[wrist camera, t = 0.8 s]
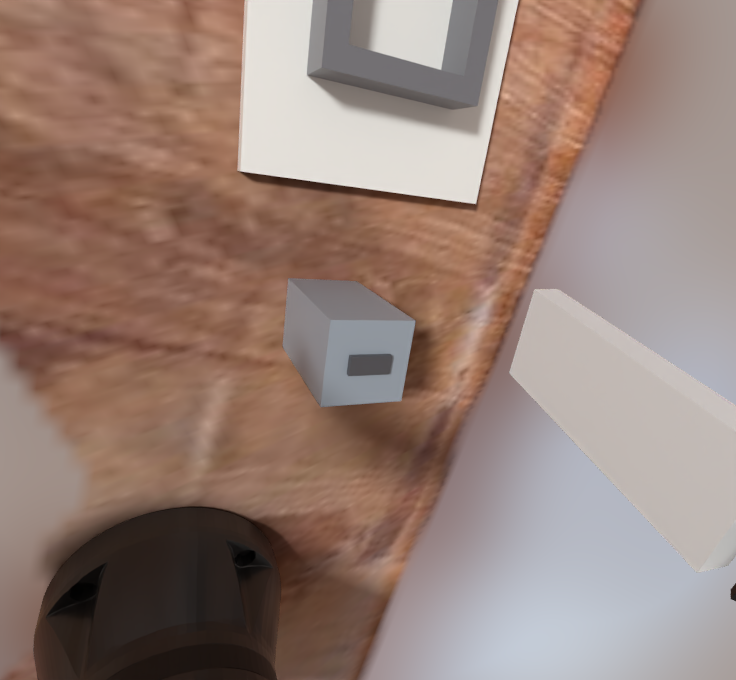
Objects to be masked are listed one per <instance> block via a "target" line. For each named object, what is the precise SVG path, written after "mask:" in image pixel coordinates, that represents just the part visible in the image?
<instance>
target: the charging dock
mask: <svg viewBox="0 0 736 680" xmlns="http://www.w3.org/2000/svg"><path fill="white" fill-rule="evenodd" d="M517 5H518V0H245V4H244V28H243V52H242V76H241V100H240V125H239V149H238V171H241V172H248V173H256V174H263V175H270V176H277V177H285V178H292V179H299V180H306V181H313V182H321V183H328V184H335V185H342V186H350V187H357V188H364V189H371V190H378V191H386V192H393V193H400V194H407V195H414V196H422V197H429V198H436V199H443V200H451V201H458V202H465V203H472V204H476V201H477V196H478V192H479V187H480V182H481V177H482V172H483V168H484V163H485V158H486V153H487V148H488V144H489V139H490V134H491V129H492V124H493V120H494V115H495V110H496V105H497V100H498V96H499V91H500V86H501V81H502V77H503V72H504V67H505V62H506V57H507V53H508V48H509V43H510V38H511V33H512V29H513V24H514V19H515V14H516V9H517Z"/></svg>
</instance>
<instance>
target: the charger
mask: <svg viewBox="0 0 736 680" xmlns="http://www.w3.org/2000/svg"><path fill="white" fill-rule="evenodd" d="M415 322H416V321H415V320H414V319H412V318H411V317H409V316H408V315H406V314H405V313H403V312H402V311H400V310H399V309H397V308H396V307H394V306H393V305H391V304H390V303H388V302H387V301H385V300H384V299H382V298H381V297H379V296H378V295H376V294H375V293H373V292H372V291H370V290H369V289H367V288H366V287H364V286H363V285H361V284H360V283H358V282H357V281H338V280H316V279H294V278H288V289H287V301H286V313H285V325H284V337H283V348H284V350H285V352H286V353H287V355H288V356H289V358H290V359H291V361H292V363H293V364H294V366H295V367H296V369H297V371H298V372H299V374H300V375H301V377H302V379H303V380H304V382H305V383H306V385H307V387H308V388H309V390H310V391H311V393H312V394H313V396H314V398H315V399H316V401H317V402H318V404H319V406H320V407H329V406H342V405H355V404H368V403H381V402H395V401H401V399H402V393H403V388H404V382H405V377H406V371H407V366H408V360H409V355H410V349H411V344H412V338H413V333H414V327H415Z"/></svg>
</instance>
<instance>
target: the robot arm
mask: <svg viewBox="0 0 736 680" xmlns="http://www.w3.org/2000/svg"><path fill="white" fill-rule="evenodd" d="M509 374H510V375H511V376H512V377H513V378H514V379H515V380H516V381H517V382H518V383H519V384H520V385H521V386H522V387H523V389H525V391H526V392H527V393H528V394H529V395H530V396H531V397H532V398H533V399H534V400H535V401H536V402H537V403H538V404H539V406H540V407H541V408H542V409H543V410H544V411H545V412H546V413H547V414H548V415H549V416H550V417H551V418H552V419H553V420H554V421H555V423H557V425H559V427H560V428H561V429H562V430H563V431H564V432H565V433H566V434H567V435H568V436H569V437H570V438H571V439H572V441H573V442H574V443H575V444H576V445H577V446H578V447H579V448H580V449H581V450H582V451H583V452H584V453H585V454H586V455H587V456H588V458H590V459H591V461H592V462H593V463H594V464H595V465H596V466H597V467H598V468H599V469H600V470H601V471H602V472H603V473H604V475H606V477H607V478H608V479H609V480H610V481H611V482H612V483H613V484H614V485H615V486H616V487H617V488H618V489H619V490H620V491H621V492H622V494H623V495H624V496H625V497H626V498H627V499H628V500H629V501H630V502H631V503H632V504H633V505H634V506H635V507H636V508H637V509H638V511H639V512H640V513H641V514H642V515H643V516H644V517H645V518H646V519H647V520H648V521H649V522H650V523H651V524H652V526H654V528H655V529H656V530H657V531H658V532H659V533H660V534H661V535H662V536H663V537H664V538H665V539H666V540H667V541H668V543H669V544H670V545H671V546H672V547H673V548H674V549H675V550H676V551H677V552H678V553H679V554H680V555H681V556H682V557H683V558H684V560H685V561H687V563H688V564H689V565H690V566H691V567H692V568H693V569H694V570H695V571H696V572H697V573H699V572H703V571H708V570H712V569H716V568H720V567H725V566H728V565H729V564H730V562H731V561H732V560H733V559H734V557H735V556H736V405H734V404H733V403H731V402H730V401H728V400H726V399H725V398H724V397H722V396H721V395H719V394H717V393H716V392H714V391H713V390H711V389H710V388H708V387H707V386H705V385H704V384H702V383H701V382H699V381H698V380H696V379H694V378H693V377H692V376H690V375H688V374H687V373H685V372H684V371H682V370H681V369H679V368H678V367H676V366H675V365H673V364H672V363H670V362H669V361H667V360H665V359H664V358H662V357H661V356H659V355H658V354H656V353H655V352H653V351H652V350H650V349H649V348H647V347H646V346H644V345H642V344H641V343H639V342H638V341H636V340H635V339H633V338H632V337H630V336H629V335H627V334H626V333H624V332H623V331H621V330H620V329H618V328H617V327H615V326H613V325H612V324H610V323H609V322H607V321H606V320H604V319H603V318H601V317H600V316H598V315H597V314H595V313H594V312H592V311H590V310H589V309H588V308H586V307H584V306H583V305H581V304H580V303H578V302H577V301H575V300H574V299H572V298H571V297H569V296H568V295H566V294H564V293H563V292H562V291H560V290H558V289H535V290H534V293H533V296H532V299H531V303H530V306H529V309H528V313H527V316H526V319H525V322H524V326H523V329H522V332H521V335H520V339H519V342H518V345H517V349H516V352H515V355H514V359H513V362H512V365H511V368H510V372H509ZM731 599H732V600H734V601H736V584H735V585H734V586H733V588H732V589H731ZM280 600H281V581H280V574H279V571H278V567H277V563H276V560H275V556H274V553H273V550H272V547H271V545H270V543H269V541H268V540H267V538H266V537H265V535H264V534H263V533H262V532H261V531H260V530H259V529H258V528H257V527H256V526H255V525H253V524H252V523H250V522H249V521H247V520H245V519H244V518H242V517H239V516H237V515H235V514H232V513H229V512H225V511H221V510H216V509H209V508H176V509H168V510H163V511H158V512H153V513H149V514H146V515H142V516H139V517H136V518H133V519H131V520H128V521H126V522H123V523H121V524H119V525H117V526H115V527H112V528H111V529H109V530H107V531H105V532H103V533H102V534H100V535H98V536H97V537H95V538H94V539H92V540H91V541H89V542H88V543H86V544H85V545H84V546H83V547H81V548H80V549H79V550H78V551H76V552H75V553H74V554H73V555H72V556H71V557H70V558H69V559H68V560H67V561H66V562H65V563H64V564H63V566H62V567H61V568H60V569H59V570H58V572H57V573H56V575H55V576H54V578H53V579H52V581H51V582H50V584H49V586H48V588H47V590H46V593H45V595H44V598H43V601H42V605H41V609H40V614H39V617H38V621H37V625H36V629H35V634H34V648H33V651H34V660H35V666H36V671H37V677H38V680H277V678H276V673H275V667H274V665H275V654H276V643H277V632H278V621H279V611H280Z"/></svg>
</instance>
